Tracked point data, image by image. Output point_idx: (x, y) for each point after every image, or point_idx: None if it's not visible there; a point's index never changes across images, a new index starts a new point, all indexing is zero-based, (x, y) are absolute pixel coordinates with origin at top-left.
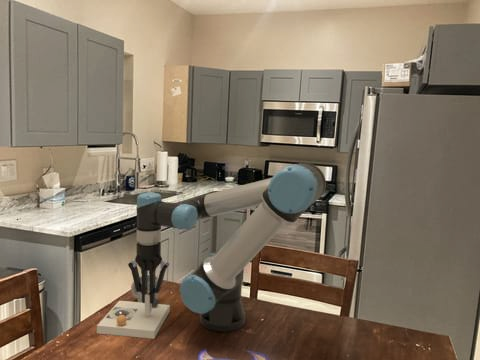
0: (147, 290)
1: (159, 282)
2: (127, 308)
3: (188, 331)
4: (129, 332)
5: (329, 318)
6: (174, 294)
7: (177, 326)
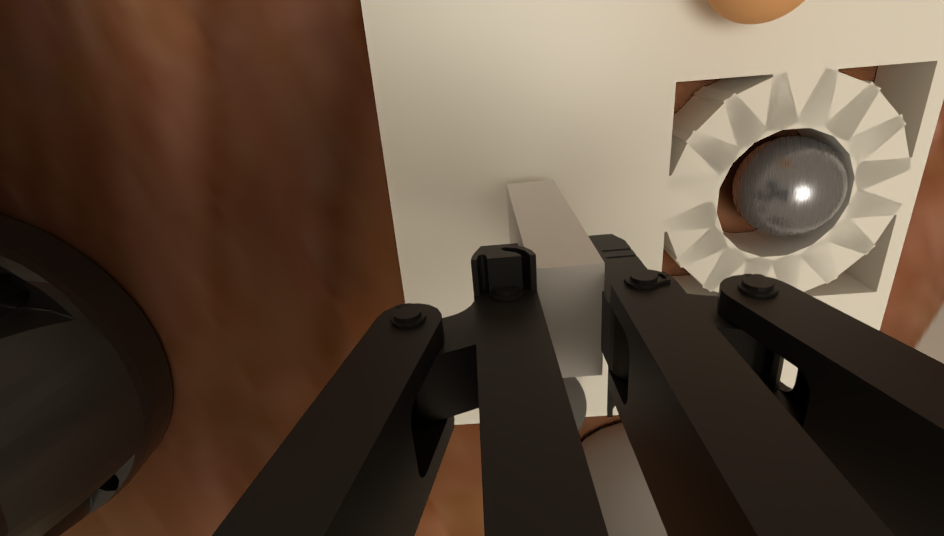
0: (654, 528)
1: (319, 444)
2: None
3: (150, 149)
4: None
5: None
6: None
7: (273, 204)
